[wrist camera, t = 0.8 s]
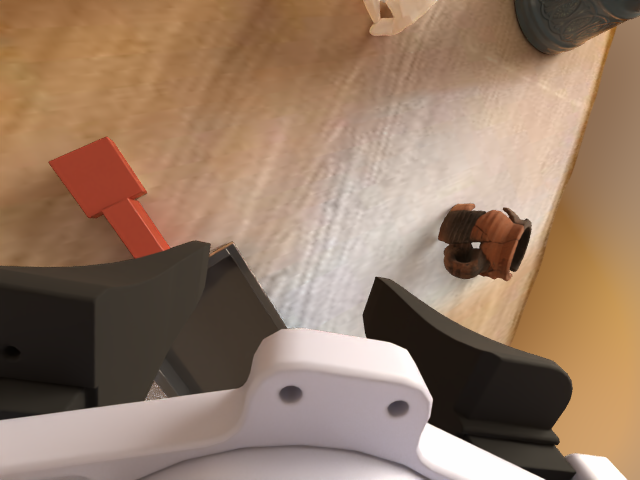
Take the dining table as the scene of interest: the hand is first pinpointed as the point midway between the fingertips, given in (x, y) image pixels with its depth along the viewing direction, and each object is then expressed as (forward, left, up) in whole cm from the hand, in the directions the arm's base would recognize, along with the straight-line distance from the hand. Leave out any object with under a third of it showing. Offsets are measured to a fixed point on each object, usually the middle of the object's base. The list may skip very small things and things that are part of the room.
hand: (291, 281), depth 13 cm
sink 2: (-7, -6, -19) cm, 21 cm away
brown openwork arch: (+23, -13, -19) cm, 33 cm away
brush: (-7, +8, -19) cm, 22 cm away
